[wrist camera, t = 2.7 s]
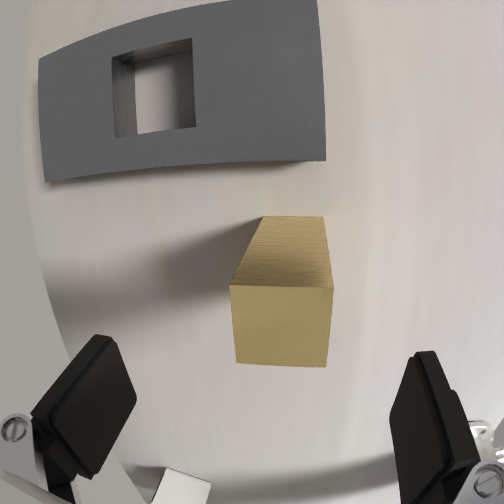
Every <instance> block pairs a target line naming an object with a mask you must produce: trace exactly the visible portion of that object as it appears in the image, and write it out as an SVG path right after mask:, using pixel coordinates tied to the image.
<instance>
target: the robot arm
mask: <svg viewBox="0 0 504 504" xmlns="http://www.w3.org/2000/svg"><path fill="white" fill-rule="evenodd" d="M136 401H137V396H136V393H135V390H134V388H133V385H132V383H131V380H130V378H129V375H128V373H127V370H126V367H125V365H124V362H123V359H122V357H121V354H120V351H119V348H118V345H117V343H116V342H114V340H113V339H112V338H111V337H109V336H104V335H98V334H96V335H94V336H93V337H92V338H91V339H90V340H89V341H88V343H87V344H86V345H85V346H84V347H83V348H82V350H81V351H80V352H79V353H78V354H77V356H76V357H75V358H74V359H73V360H72V362H71V363H70V364H69V365H68V366H67V368H66V369H65V370H64V371H63V373H62V374H61V375H60V376H59V378H58V379H57V380H56V381H55V382H54V384H53V385H52V386H51V387H50V389H49V390H48V391H47V392H46V394H45V395H44V396H43V397H42V399H41V400H40V401H39V402H38V404H37V405H36V406H35V408H34V409H33V410H32V412H31V413H30V414H31V415H32V416H33V418H32V419H31V420H30V419H29V418H28V417H27V416H26V415H24V414H20V413H19V414H13V415H10V416H8V417H7V418H5V419H4V420H3V421H2V422H1V424H0V504H82V503H81V500H80V496H79V492H78V489H77V485H76V481H75V477H76V475H77V473H78V474H79V475H80V476H83V477H85V478H88V479H90V480H91V479H92V478H93V476H94V474H97V473H99V471H100V469H101V467H102V465H103V464H104V462H105V460H106V458H107V456H108V454H109V452H110V450H111V449H112V447H113V445H114V443H115V441H116V439H117V437H118V436H119V434H120V432H121V430H122V428H123V426H124V424H125V423H126V421H127V419H128V417H129V415H130V413H131V412H132V410H133V408H134V406H135V404H136ZM389 422H390V428H391V434H392V440H393V446H394V452H395V459H396V466H397V473H398V481H399V489H400V498H401V504H504V446H501V447H499V448H496V449H495V448H494V447H493V445H492V442H493V439H494V432H493V429H492V427H491V426H490V425H489V424H488V423H486V422H480V421H477V422H468V420H467V418H466V415H465V412H464V410H463V407H462V404H461V402H460V399H459V397H458V395H457V393H456V391H454V390H451V389H450V386H449V384H448V381H447V379H446V376H445V374H444V371H443V369H442V367H441V364H440V362H439V360H438V357H437V355H436V353H435V352H434V351H423V352H416V353H415V355H414V357H410V358H409V360H408V363H407V366H406V369H405V372H404V375H403V378H402V381H401V384H400V387H399V390H398V393H397V396H396V398H395V401H394V404H393V406H392V409H391V412H390V416H389Z"/></svg>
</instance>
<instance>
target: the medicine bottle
mask: <svg viewBox="0 0 504 504" xmlns="http://www.w3.org/2000/svg"><path fill="white" fill-rule="evenodd" d="M210 488H211V483H210V482H207V481H204V480H201V479H198V478H195V477H192V476H189V475H186V474H183V473H181V472H178V471H175V470H172V469H170V468H166V469H165V471H164V473H163V475H162V478H161V480H160V482H159V485H158V487H157V489H156V492H155V494H154V496H153V499H152V501H151V504H206V501H207V498H208V494H209V491H210Z"/></svg>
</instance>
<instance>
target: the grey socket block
mask: <svg viewBox="0 0 504 504" xmlns="http://www.w3.org/2000/svg"><path fill="white" fill-rule="evenodd" d="M189 51H193V76H194V97H195V116H196V127H191V128H182V129H173V130H166V131H158V132H151V133H144V134H138V135H137V123H136V106H135V83H134V63H137V62H141V61H145V60H150V59H154V58H158V57H163V56H168V55H173V54H178V53H183V52H189ZM38 100H39V123H40V138H41V149H42V159H43V167H44V175H45V182H50V181H56V180H62V179H68V178H75V177H81V176H88V175H96V174H103V173H111V172H119V171H127V170H136V169H146V168H156V167H168V166H180V165H193V164H209V163H228V162H255V161H326V134H325V104H324V84H323V67H322V53H321V40H320V29H319V18H318V8H317V0H230V1H223V2H216V3H210V4H204V5H198V6H193V7H188V8H183V9H179V10H174V11H170V12H166V13H162V14H158V15H154V16H150V17H147V18H143V19H140V20H136V21H133V22H130V23H127V24H123V25H120V26H117V27H114V28H111V29H109V30H106V31H103V32H100V33H98V34H95V35H92V36H90V37H87V38H85V39H82V40H80V41H77V42H75V43H73V44H70V45H68V46H66V47H63V48H61V49H59V50H57V51H55V52H53V53H51V54H48V55H46V56H44V57H42V58H40V59H39V68H38Z"/></svg>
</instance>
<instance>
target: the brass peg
mask: <svg viewBox="0 0 504 504" xmlns="http://www.w3.org/2000/svg"><path fill="white" fill-rule="evenodd" d="M229 290H230V301H231V312H232V322H233V333H234V343H235V353H236V363H244V364H257V365H273V366H293V367H326V362H327V354H328V345H329V335H330V325H331V315H332V303H333V290H334V287H333V279H332V272H331V264H330V258H329V251H328V244H327V238H326V231H325V225H324V219H323V217H296V216H263V218H262V220H261V222H260V224H259V226H258V228H257V230H256V232H255V234H254V236H253V238H252V240H251V242H250V244H249V246H248V248H247V250H246V252H245V254H244V256H243V258H242V260H241V262H240V264H239V266H238V268H237V270H236V272H235V274H234V276H233V278H232V280H231V282H230V284H229Z"/></svg>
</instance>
